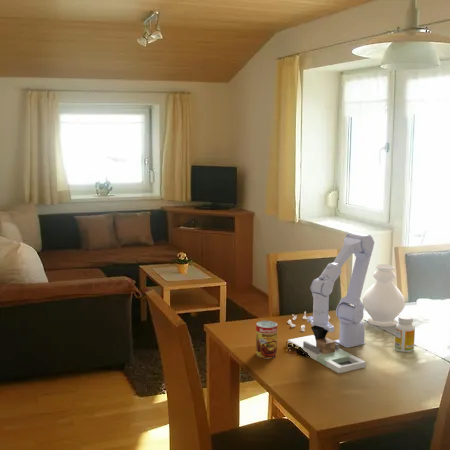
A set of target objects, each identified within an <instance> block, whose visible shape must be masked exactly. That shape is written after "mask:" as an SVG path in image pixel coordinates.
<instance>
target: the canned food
mask: <svg viewBox="0 0 450 450" xmlns="http://www.w3.org/2000/svg"><path fill="white" fill-rule="evenodd" d="M255 325H256V328H255V331H256V332H255V355H256V354H257V355H258V356H261V357H273V358H275V357H277V356H276V355H278V323H277V322H275V321H274V320H273V321H272V320H260V321H257V322H256V324H255ZM257 355H256V356H257ZM258 356H257V357H258ZM274 356H275V357H274ZM261 357H260V358H261Z"/></svg>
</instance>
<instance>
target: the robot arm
mask: <svg viewBox="0 0 450 450" xmlns="http://www.w3.org/2000/svg"><path fill="white" fill-rule="evenodd" d="M374 246H375V241H374V238H373V236H372V235H371V234H364V233H361V232H354V231H349V232H347V234H346V235H345V237H344V239H343V245H342V247H341V249H340V250H339V253H338V254H337V256H336V257H335V259H334V261H333V262H329V263H328V264H327V265H326V267H325V268H324V269H323V271H322V272H321V274H320V275H319V276H318V277H317V278H314V279H313V280H312V282H311V285H310V286H309V289H310V291H311V295H312V298H313V300H312V301H313V302H312V303H313V304H312V305H313V306H312V315H310V316H306V317H307V319H306V320H307V322H308V323H310V325H311V327H310V328H311V330H312V333H313V335H314V336H315V339H316V340H318V339H323V338H327V337H326V336H327V334H328V333H334V332H335V326H334V325H333V324H332V323H331V322H329V320H328V315H329V307H330V305H329V304H330V301H329V299H330V295H331V293H332V292H333V290H334V286H335V282H336V280H337V279H338V277H339V276H340V274H341V273H342V267H343V266H344V264H345V263H346V262H347V261H348V260H349V258H350V257H351V256H352V255H354V256H355V261H354V265H353V268H352V272H351V276H350V280H349V284H348V288H347V291H346V294H345V296H343V297H342V298H341V299H340V300H339V303H338V304H337V306H336V309H335V316H336V317H337V319H338V321H339V337H338V338H339V339H335V340H334V341H335V343H337V344H339V345H341V346H342V347H344V348H352V347H357V346H362V345H366V342H365V336H366V334H365V333H366V330H365V328H366V327H365V324H364V322H363V321H362V320H363V319H364V310H365V308H364V305H363V301H361V296H362V292H363V288H364V284H365V281H366V276H367V273H368V270H369V265H370V263H371V262H370V261H371V256H372V255H373V254H372V253H373V250H374ZM331 324H332V325H331Z"/></svg>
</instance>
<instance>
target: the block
mask: <svg viewBox="0 0 450 450" xmlns="http://www.w3.org/2000/svg"><path fill="white" fill-rule="evenodd" d="M335 343H336V342H335V340H333V339H331V338H328V337H325V338H323V339H318V340H316V347H318V348H319V349H320V352H321V353H323V354H328V353H333V352H335Z"/></svg>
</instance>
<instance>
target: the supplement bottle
mask: <svg viewBox="0 0 450 450" xmlns="http://www.w3.org/2000/svg"><path fill="white" fill-rule="evenodd" d="M413 321H414V317H413V316H412V315H404V314H403V315H398V320H397V324H396V325H395V330H394V331H395V332H394V334H395V335H394V349H395V350H396V351H398V352H402V353H410V352H413V351H414V349H415V330H416V328H415V325H414V324H413V323H414V322H413Z"/></svg>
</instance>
